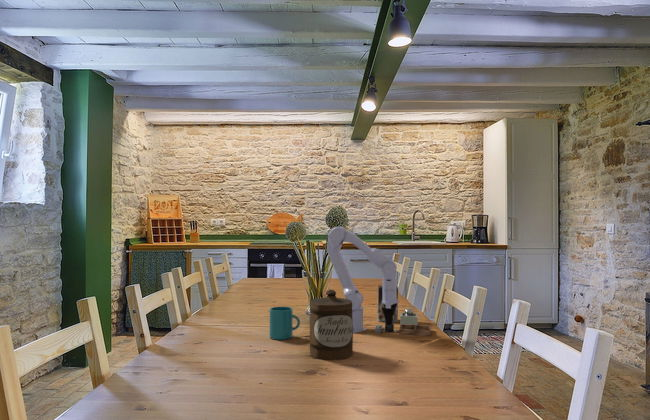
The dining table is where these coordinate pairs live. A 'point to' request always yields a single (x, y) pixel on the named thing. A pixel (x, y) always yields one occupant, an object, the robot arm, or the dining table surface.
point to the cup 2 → (409, 319)
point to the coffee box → (380, 313)
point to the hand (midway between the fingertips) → (389, 323)
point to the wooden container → (331, 327)
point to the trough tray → (415, 330)
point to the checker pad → (380, 329)
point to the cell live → (389, 326)
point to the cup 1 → (282, 323)
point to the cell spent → (408, 312)
